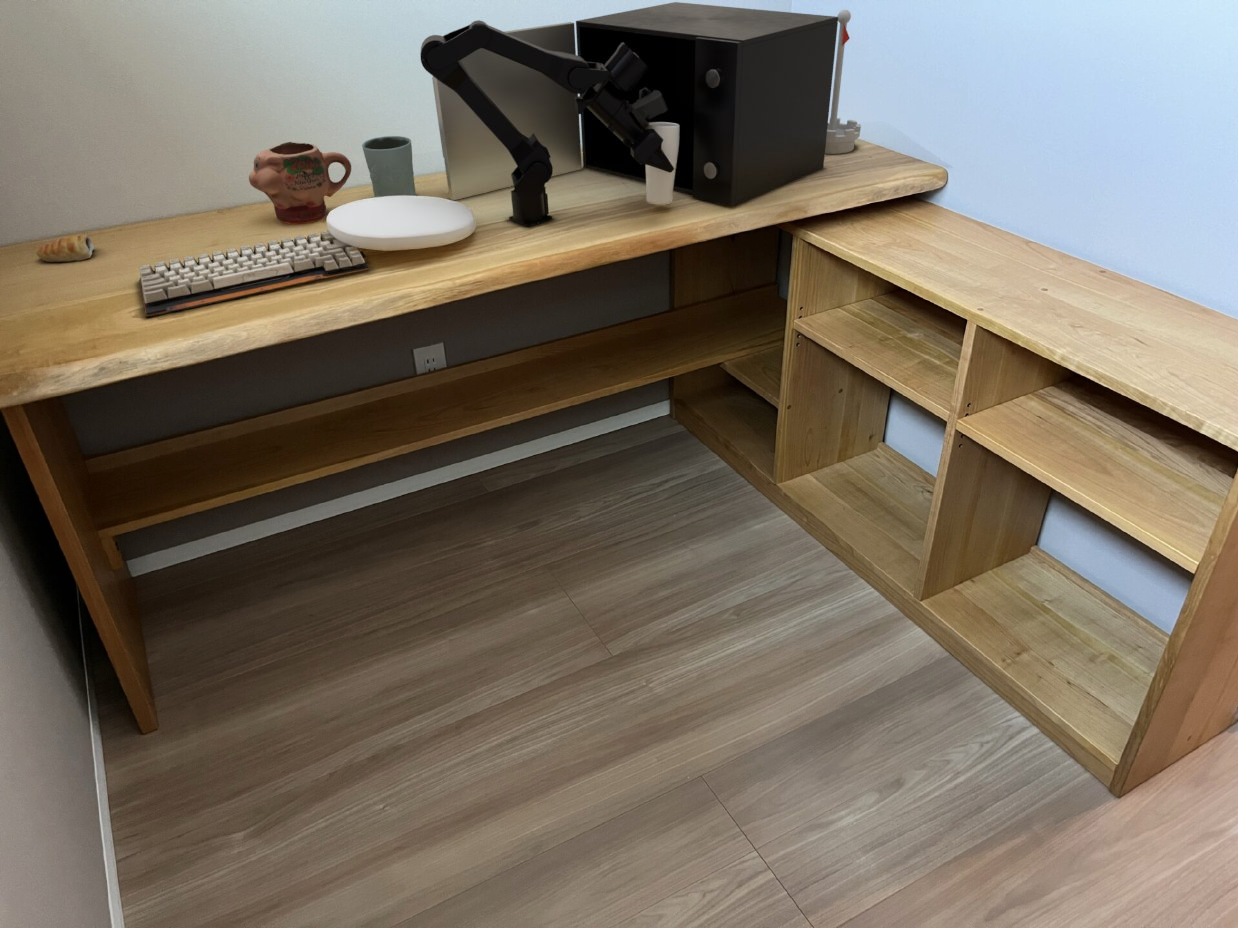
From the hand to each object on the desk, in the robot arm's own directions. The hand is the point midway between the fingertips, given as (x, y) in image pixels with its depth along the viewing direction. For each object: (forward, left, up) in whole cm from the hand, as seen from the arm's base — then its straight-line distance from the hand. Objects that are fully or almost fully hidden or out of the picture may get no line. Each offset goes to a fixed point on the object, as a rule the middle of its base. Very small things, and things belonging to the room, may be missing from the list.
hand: (668, 165), depth 177 cm
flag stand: (+58, +3, -9) cm, 59 cm away
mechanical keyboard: (-76, +28, -9) cm, 81 cm away
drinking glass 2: (-2, 0, -7) cm, 8 cm away
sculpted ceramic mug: (-54, +51, -9) cm, 75 cm away
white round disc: (-48, +23, -8) cm, 54 cm away
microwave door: (-11, +39, -8) cm, 41 cm away
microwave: (+24, +14, -9) cm, 29 cm away
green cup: (-36, +47, -9) cm, 60 cm away
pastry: (-97, +63, -9) cm, 116 cm away
